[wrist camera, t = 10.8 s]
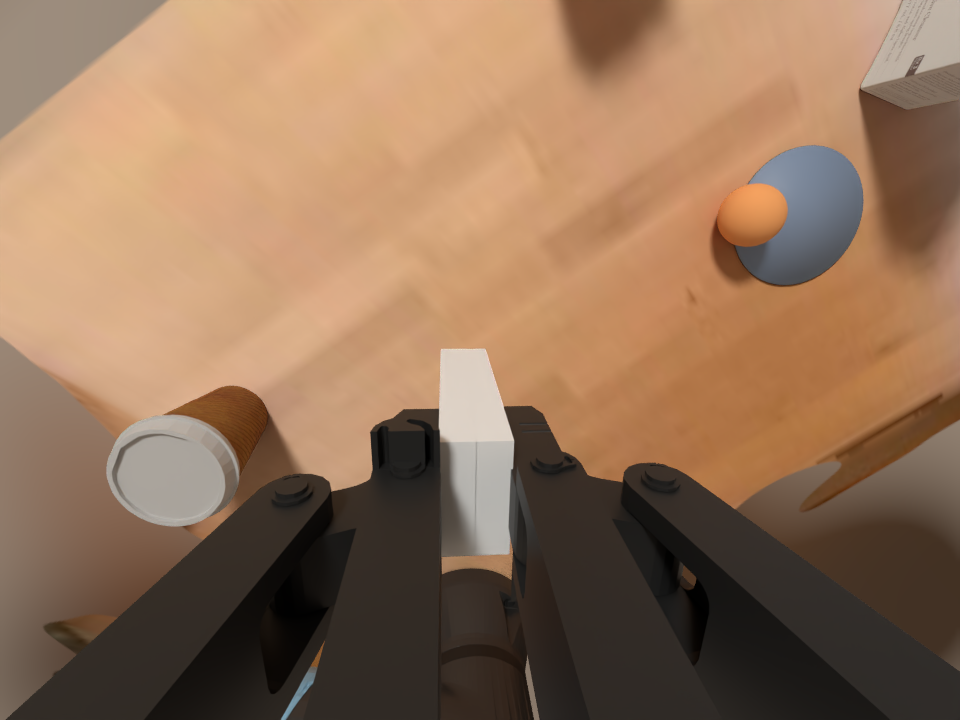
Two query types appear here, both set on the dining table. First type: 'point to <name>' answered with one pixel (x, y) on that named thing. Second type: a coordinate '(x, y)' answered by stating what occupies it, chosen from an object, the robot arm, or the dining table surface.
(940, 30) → the skincare box
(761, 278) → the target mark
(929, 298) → the dining table surface
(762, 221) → the ball
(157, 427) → the disposable coffee cup
